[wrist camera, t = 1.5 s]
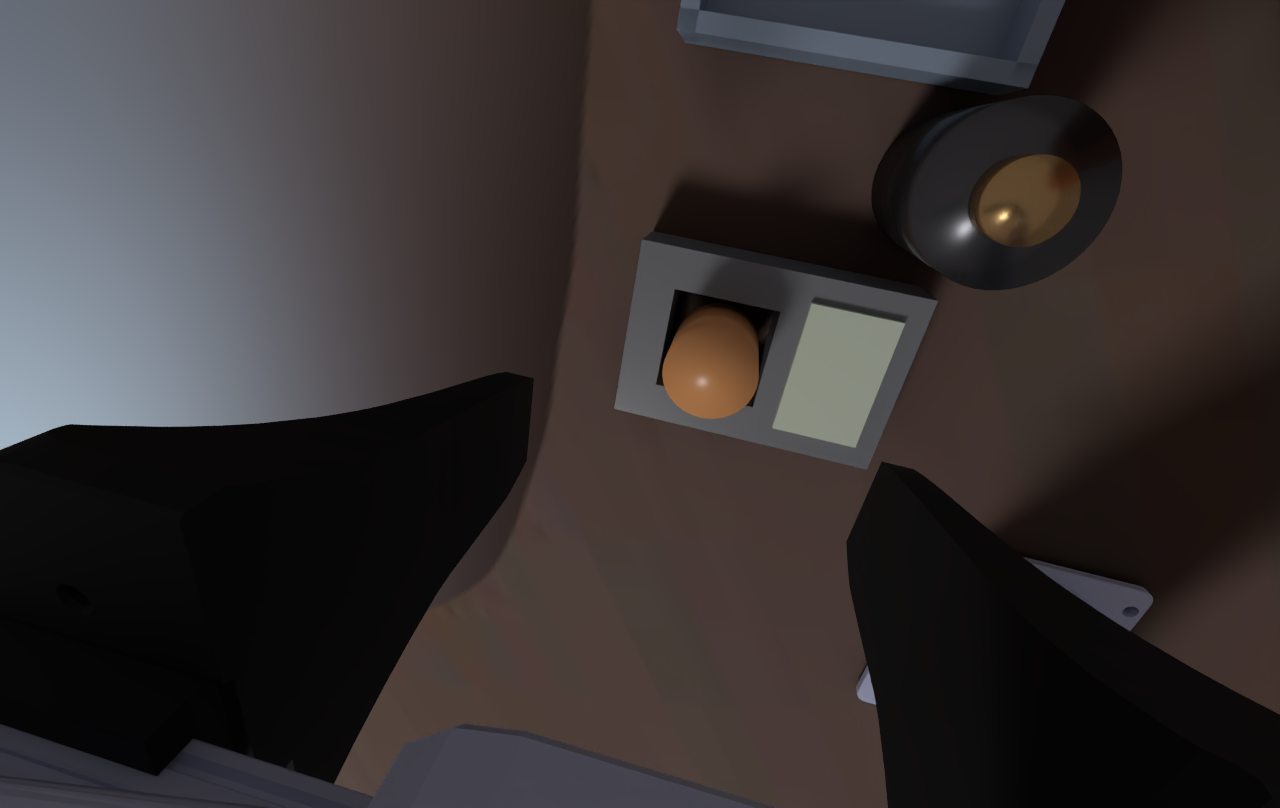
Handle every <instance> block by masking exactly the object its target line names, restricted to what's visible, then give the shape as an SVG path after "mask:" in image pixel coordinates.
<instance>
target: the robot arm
mask: <svg viewBox="0 0 1280 808" xmlns="http://www.w3.org/2000/svg"><path fill="white" fill-rule="evenodd" d="M533 382H534V379H533V378H530V377H525V376H521V375H517V374H513V373H508V372H503V373H497V374H493V375H489V376H485V377H482V378H478V379H475V380H472V381H469V382H465V383H462V384H459V385H455V386H452V387H449V388H445V389H442V390H439V391H436V392H432V393H429V394H425V395H421V396H417V397H413V398H410V399H406V400H402V401H398V402H394V403H390V404H387V405H382V406H378V407H373V408H369V409H364V410H359V411H353V412H347V413H342V414H336V415H330V416H324V417H317V418H307V419H297V420H288V421H278V422H269V423H259V424H243V425H225V426H197V427H196V426H195V427H144V426H98V425H93V426H92V425H73V424H72V425H71V424H70V425H65V426H61V427H58V428H55V429H52V430H49V431H47V432H44V433H42V434H39V435H37V436H34V437H32V438H30V439H27V440H24V441H22V442H19V443H17V444H14V445H12V446H10V447H7V448H4V449H2V450H0V808H777V807H774V806H771V805H767V804H764V803H761V802H757V801H754V800H751V799H748V798H744V797H741V796H738V795H734V794H731V793H728V792H725V791H721V790H718V789H715V788H711V787H708V786H705V785H701V784H698V783H695V782H692V781H688V780H685V779H682V778H678V777H675V776H672V775H669V774H665V773H662V772H659V771H655V770H652V769H649V768H645V767H642V766H639V765H636V764H632V763H629V762H626V761H622V760H619V759H616V758H613V757H609V756H606V755H603V754H599V753H596V752H593V751H589V750H586V749H583V748H580V747H576V746H573V745H570V744H566V743H563V742H560V741H557V740H553V739H550V738H547V737H543V736H540V735H537V734H533V733H530V732H527V731H520V730H512V729H504V728H496V727H488V726H481V725H473V724H462V725H459V726H455V727H452V728H449V729H446V730H443V731H440V732H437V733H434V734H431V735H429V736H426V737H423V738H420V739H417V740H414V741H411V742H408V743H405V744H404V746H403V747H402V749H401V751H400V753H399V754H398V756H397V758H396V759H395V761H394V763H393V764H392V766H391V768H390V770H389V771H388V773H387V775H386V776H385V778H384V780H383V781H382V783H381V785H380V787H379V788H378V790H377V792H376V793H375V795H374V797H372V796H369V795H366V794H363V793H360V792H357V791H354V790H351V789H348V788H345V787H341V786H338V785H335V784H334V782H335V780H336V778H337V776H338V774H339V772H340V770H341V768H342V766H343V764H344V762H345V760H346V758H347V756H348V754H349V752H350V750H351V748H352V746H353V744H354V742H355V740H356V738H357V736H358V735H359V733H360V731H361V729H362V727H363V725H364V723H365V721H366V719H367V717H368V716H369V714H370V712H371V710H372V708H373V706H374V704H375V702H376V700H377V698H378V697H379V695H380V693H381V691H382V689H383V687H384V685H385V683H386V682H387V680H388V678H389V676H390V674H391V673H392V671H393V669H394V667H395V665H396V664H397V662H398V660H399V658H400V656H401V655H402V653H403V651H404V649H405V647H406V646H407V644H408V642H409V640H410V638H411V637H412V635H413V633H414V631H415V630H416V628H417V626H418V625H419V623H420V621H421V620H422V618H423V616H424V614H425V613H426V611H427V609H428V608H429V606H430V604H431V603H432V601H433V599H434V597H435V596H436V594H437V592H438V591H439V589H440V588H441V587H442V585H443V584H444V582H445V581H446V579H447V578H448V576H449V574H450V573H451V572H452V571H453V569H454V568H455V567H456V565H457V564H458V563H459V561H460V560H461V559H462V557H463V556H464V554H465V553H466V552H467V551H468V549H469V548H470V546H471V545H472V544H473V542H474V541H475V540H476V538H477V537H478V536H479V534H480V533H481V532H482V530H483V529H484V528H485V526H486V525H487V524H488V522H489V521H490V520H491V518H492V517H493V516H494V514H495V513H496V511H497V510H498V509H499V507H500V506H501V505H502V503H503V502H504V500H505V499H506V497H507V496H508V494H509V493H510V491H511V489H512V487H513V485H514V484H515V482H516V480H517V478H518V476H519V474H520V472H521V470H522V468H523V466H524V464H525V462H526V460H527V449H528V438H529V427H530V426H529V425H530V416H531V404H532V393H533ZM847 559H848V573H849V585H850V590H851V595H852V600H853V604H854V609H855V613H856V618H857V622H858V627H859V631H860V635H861V639H862V644H863V648H864V652H865V657H866V661H867V667H866V669H865V671H864V673H863V675H862V676H861V678H860V680H859V682H858V684H857V686H856V691H857V695H858V697H859V698H860V699H861V700H863V701H865V702H868V703H872V704H875V705H876V707H877V713H878V719H879V727H880V735H881V744H882V752H883V761H884V769H885V779H886V790H887V800H888V808H1280V715H1279V714H1277V713H1275V712H1273V711H1271V710H1270V709H1268V708H1266V707H1264V706H1262V705H1260V704H1258V703H1256V702H1254V701H1252V700H1250V699H1248V698H1246V697H1244V696H1242V695H1241V694H1239V693H1237V692H1235V691H1233V690H1231V689H1229V688H1227V687H1226V686H1224V685H1222V684H1220V683H1218V682H1217V681H1215V680H1213V679H1211V678H1209V677H1207V676H1206V675H1204V674H1202V673H1200V672H1198V671H1197V670H1195V669H1193V668H1191V667H1189V666H1188V665H1186V664H1184V663H1183V662H1181V661H1179V660H1178V659H1176V658H1174V657H1172V656H1171V655H1169V654H1167V653H1166V652H1164V651H1162V650H1161V649H1159V648H1157V647H1155V646H1154V645H1152V644H1150V643H1149V642H1147V641H1145V640H1144V639H1142V638H1140V637H1138V636H1137V635H1135V634H1134V633H1132V632H1130V631H1131V630H1132V628H1133V627H1134V626H1135V625H1136V623H1137V622H1138V621H1139V620H1140V619H1141V617H1142V616H1143V615H1144V614H1145V612H1146V611H1147V610H1148V609H1149V607H1150V606H1151V605H1152V603H1153V597H1152V596H1151V595H1150V593H1149V592H1148V591H1147V590H1146V589H1145V588H1143V587H1141V586H1138V585H1134V584H1130V583H1126V582H1122V581H1118V580H1114V579H1110V578H1106V577H1102V576H1098V575H1094V574H1090V573H1086V572H1082V571H1078V570H1074V569H1070V568H1066V567H1062V566H1058V565H1054V564H1050V563H1046V562H1042V561H1038V560H1034V559H1030V558H1026V557H1022V556H1021V555H1020V554H1018V553H1017V552H1016V551H1015V550H1013V549H1012V548H1011V547H1010V546H1008V545H1007V544H1006V543H1005V542H1003V541H1002V540H1001V539H1000V538H998V537H997V536H996V535H995V534H993V533H992V532H991V531H990V530H989V529H987V528H986V527H985V526H984V525H983V524H981V523H980V522H979V521H978V520H977V519H975V518H974V517H973V516H972V515H971V514H970V513H968V512H967V511H966V510H965V509H964V508H962V507H961V506H960V505H959V504H958V503H957V502H955V501H954V500H953V499H952V498H951V497H949V496H948V495H947V494H946V493H945V492H943V491H942V490H941V489H940V488H939V487H937V486H936V485H935V484H934V483H932V482H931V481H930V480H928V479H927V478H926V477H924V476H923V475H922V474H920V473H918V472H917V471H915V470H914V469H910V468H906V467H902V466H897V465H893V464H889V463H885V462H881V465H880V467H879V469H878V471H877V474H876V476H875V478H874V481H873V483H872V485H871V487H870V490H869V492H868V494H867V496H866V499H865V501H864V503H863V506H862V508H861V510H860V512H859V515H858V517H857V519H856V521H855V524H854V526H853V528H852V531H851V533H850V535H849V537H848V540H847ZM1127 607H1130V608H1128V609H1125V608H1127Z"/></svg>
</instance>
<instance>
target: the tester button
mask: <svg viewBox="0 0 1280 808" xmlns="http://www.w3.org/2000/svg"><path fill="white" fill-rule="evenodd" d="M662 377H663V383H664V386H665V389H666V391H667V393H668V395H669V397H670V398H671V399H672V401H673V402H674V403H675V404H676V405H677V406H678V407H679V408H681V409H682V410H683V411H685V412H687V413H689V414H691V415H693V416H696V417H700V418H706V419H718V418H723V417H727V416H730V415H732V414H734V413H736V412H738V411H739V410H741V409H742V408H743V407H745V406H746V405H747V404H748V402H749V401H750V400H751V398H752V397H753V395H754V393H755V391H756V388H757V385H758V379H759V345H758V334H757V331H756V328H755V326H754V324H753V322H752V321H751V319H750V318H749V317H748V316H747V315H746V314H745V313H744V312H743V311H741V310H740V309H738V308H736V307H734V306H732V305H728V304H723V303H710V304H706V305H702V306H700V307H698V308H696V309H694V310H693V311H691V312H690V313H689V314H688V315H687V316H686V317H685V318H684V319H683V320H682V322H681V324H680V326H679V328H678V330H677V332H676V335H675V337H674V339H673V342H672V344H671V346H670V348H669V351H668V353H667V355H666V358H665V360H664V364H663V370H662Z"/></svg>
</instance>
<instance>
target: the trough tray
mask: <svg viewBox="0 0 1280 808" xmlns="http://www.w3.org/2000/svg"><path fill="white" fill-rule="evenodd" d="M1064 2H1065V0H681V6H680V12H679V18H678V24H677V31H678V32H679V34H680V35H681V37H682V38H683V40H684V42H685V43H690V44H696V45H702V46H708V47H713V48H719V49H725V50H731V51H737V52H743V53H749V54H755V55H761V56H767V57H772V58H778V59H784V60H790V61H796V62H802V63H808V64H814V65H820V66H825V67H831V68H837V69H843V70H849V71H855V72H861V73H867V74H873V75H879V76H884V77H890V78H896V79H902V80H908V81H914V82H920V83H926V84H932V85H938V86H943V87H949V88H955V89H961V90H967V91H973V92H979V93H985V94H991V95H1001V94H1006V93H1010V92H1014V91H1019V90H1023V89H1028V88H1029V85H1030V83H1031V80H1032V78H1033V76H1034V73H1035V71H1036V69H1037V66H1038V64H1039V62H1040V59H1041V57H1042V54H1043V52H1044V50H1045V47H1046V45H1047V43H1048V40H1049V38H1050V36H1051V33H1052V31H1053V28H1054V26H1055V24H1056V21H1057V19H1058V17H1059V14H1060V12H1061V10H1062V7H1063V5H1064Z"/></svg>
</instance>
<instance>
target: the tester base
mask: <svg viewBox="0 0 1280 808" xmlns="http://www.w3.org/2000/svg"><path fill="white" fill-rule="evenodd" d="M679 290H682V291H686V292H691V293H696V294H700V295H705V296H710V297H714V298H719V299H723V300H728V301H733V302H737V303H742V304H747V305H751V306H756V307H760V308H765V309H770V310H774V314H773V317H772V321H771V324H770V328H769V331H768V335H767V338H766V342H765V345H764V349H763V352H762V356H761V359H760V363H759V379H758V385H757V388H756V391H755V393H754V395H753V397H752V398H751V400H750V401H749V402H748V404H747V405H746V406H745V407H743V408H742V409H741V410H739V411H738V412H736V413H734V414H732V415H730V416H727V417H723V418H718V419H706V418H700V417H696V416H693V415H691V414H689V413H687V412H685V411H683V410H682V409H681V408H679V407H678V406H677V405H676V404H675V403H674V402H673V401H672V399H671V398H670V397H669V395H668V393H667V391H666V389H665V386H664V383H663V377H662V370H663V364H664V360H665V358H666V355H667V350H668V345H669V340H670V335H671V330H672V325H673V320H674V315H675V310H676V305H677V300H678V295H679ZM937 303H938V300H936V299H935V298H934V297H933V296H932V295H930V294H929V293H928V292H927V291H926V290H924V289H923V288H922V287H921V286H918V285H913V284H908V283H903V282H898V281H894V280H889V279H884V278H879V277H874V276H869V275H864V274H860V273H855V272H850V271H845V270H840V269H835V268H830V267H826V266H821V265H816V264H811V263H806V262H801V261H796V260H792V259H787V258H782V257H777V256H772V255H767V254H762V253H758V252H753V251H748V250H743V249H738V248H733V247H728V246H724V245H719V244H714V243H709V242H704V241H699V240H694V239H690V238H685V237H680V236H675V235H670V234H665V233H660V232H656V231H652V232H651V233H650V234H648V235H647V236H646V237H645V238H643V239H642V243H641V249H640V255H639V261H638V268H637V274H636V280H635V286H634V292H633V298H632V304H631V310H630V316H629V322H628V329H627V335H626V341H625V347H624V353H623V359H622V365H621V371H620V377H619V383H618V389H617V396H616V402H615V408H614V409H618V410H622V411H626V412H630V413H634V414H638V415H642V416H647V417H651V418H655V419H659V420H663V421H667V422H671V423H676V424H680V425H684V426H688V427H692V428H696V429H700V430H705V431H709V432H713V433H717V434H721V435H725V436H730V437H734V438H738V439H742V440H746V441H750V442H754V443H759V444H763V445H767V446H771V447H775V448H779V449H783V450H788V451H792V452H796V453H800V454H804V455H808V456H812V457H817V458H821V459H825V460H829V461H833V462H837V463H842V464H846V465H850V466H854V467H858V468H862V469H866V470H867V468H868V466H869V464H870V461H871V459H872V456H873V454H874V452H875V449H876V447H877V445H878V442H879V440H880V438H881V435H882V433H883V430H884V428H885V426H886V423H887V421H888V419H889V416H890V414H891V412H892V409H893V407H894V404H895V402H896V400H897V397H898V395H899V393H900V390H901V388H902V386H903V383H904V381H905V378H906V376H907V374H908V371H909V369H910V367H911V364H912V362H913V360H914V357H915V355H916V352H917V350H918V348H919V345H920V343H921V341H922V338H923V336H924V333H925V331H926V329H927V326H928V324H929V322H930V319H931V317H932V315H933V312H934V310H935V307H936V305H937Z"/></svg>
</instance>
